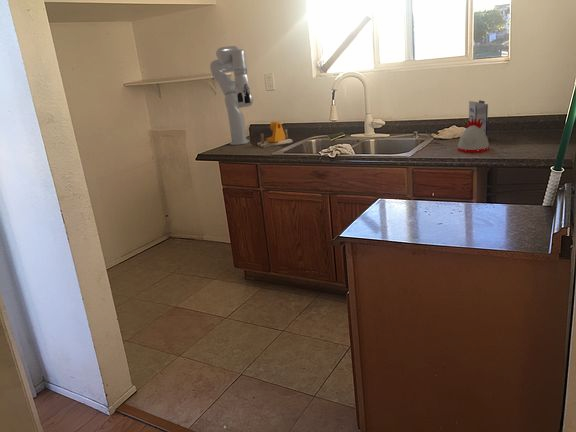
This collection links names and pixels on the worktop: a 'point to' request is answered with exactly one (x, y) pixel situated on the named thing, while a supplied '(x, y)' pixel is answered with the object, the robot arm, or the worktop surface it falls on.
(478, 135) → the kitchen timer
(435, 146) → the worktop surface
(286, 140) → the tool rest
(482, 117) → the milk carton
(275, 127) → the bracket
